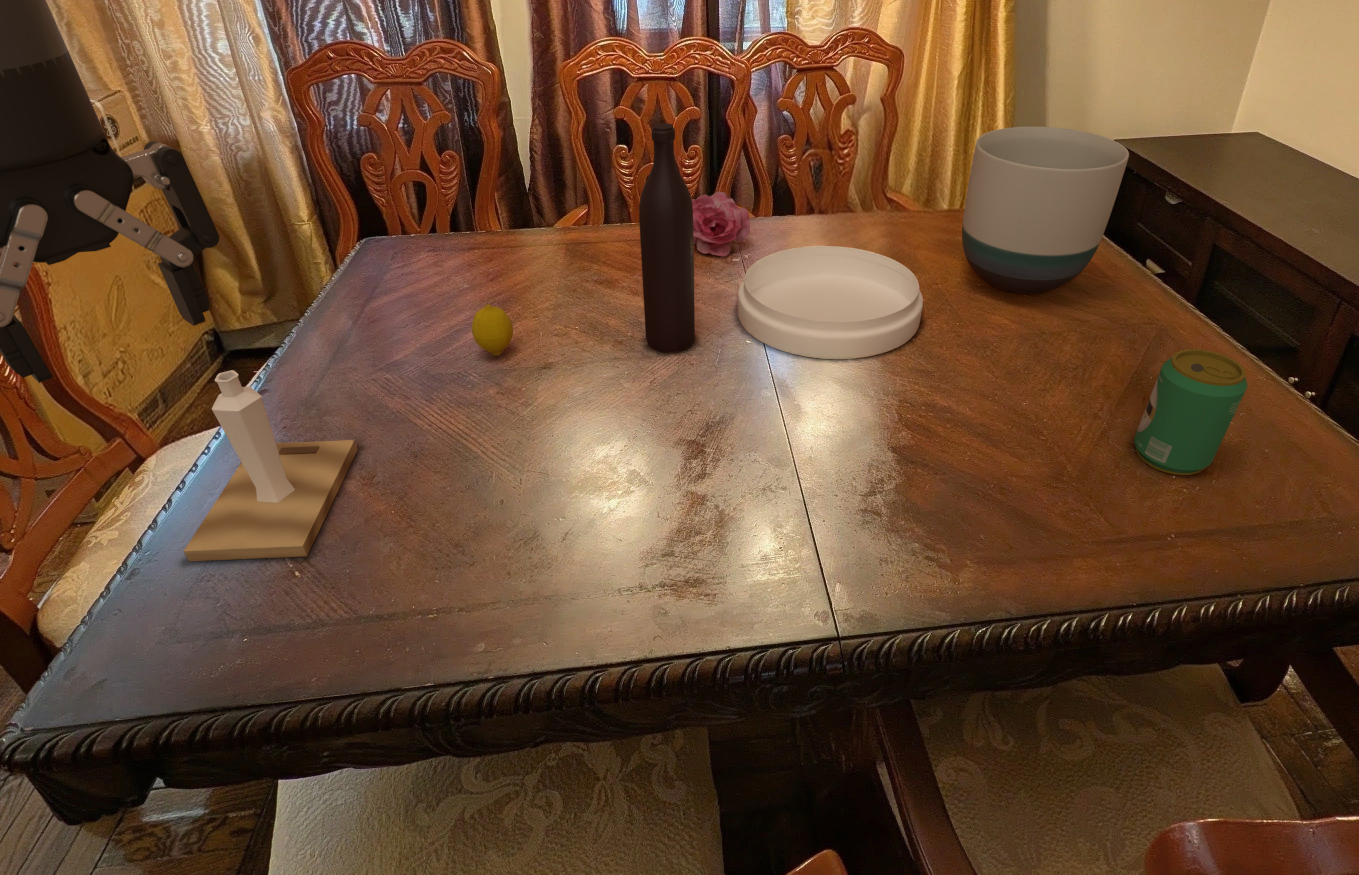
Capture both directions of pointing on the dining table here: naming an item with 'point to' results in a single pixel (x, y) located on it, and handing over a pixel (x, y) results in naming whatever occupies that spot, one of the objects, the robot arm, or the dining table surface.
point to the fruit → (492, 329)
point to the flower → (718, 223)
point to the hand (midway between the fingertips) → (122, 346)
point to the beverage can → (1189, 411)
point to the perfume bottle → (251, 437)
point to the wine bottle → (667, 249)
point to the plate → (830, 302)
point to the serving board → (275, 507)
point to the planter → (1038, 204)
